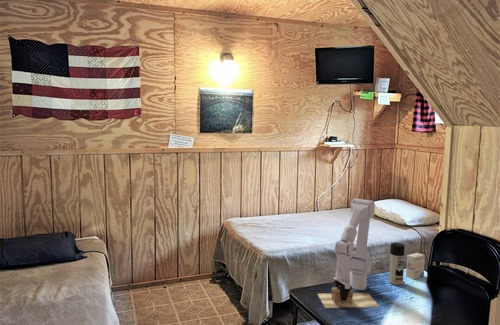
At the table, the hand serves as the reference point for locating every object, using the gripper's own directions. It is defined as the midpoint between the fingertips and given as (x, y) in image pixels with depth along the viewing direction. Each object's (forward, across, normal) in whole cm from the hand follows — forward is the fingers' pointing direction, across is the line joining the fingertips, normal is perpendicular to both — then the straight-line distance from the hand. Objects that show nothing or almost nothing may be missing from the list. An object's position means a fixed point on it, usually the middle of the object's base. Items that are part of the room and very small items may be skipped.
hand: (341, 297), depth 177 cm
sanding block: (+1, 0, 0) cm, 1 cm away
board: (+3, -1, +3) cm, 4 cm away
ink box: (+3, -31, +49) cm, 58 cm away
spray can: (+3, -23, +35) cm, 42 cm away
